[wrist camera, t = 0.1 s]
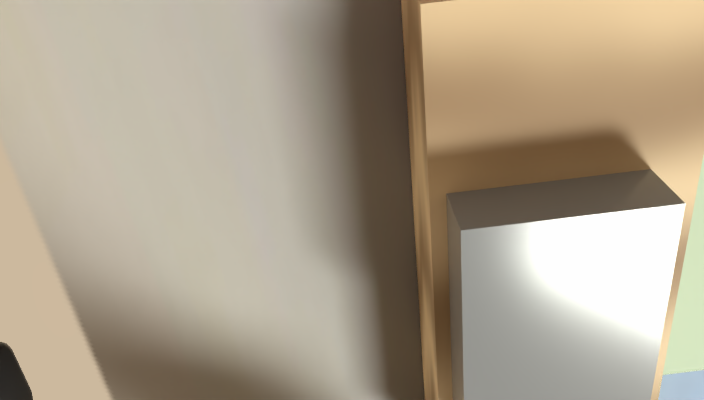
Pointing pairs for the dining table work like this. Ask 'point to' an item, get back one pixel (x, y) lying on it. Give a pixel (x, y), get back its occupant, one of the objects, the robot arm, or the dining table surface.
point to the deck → (544, 117)
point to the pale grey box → (561, 287)
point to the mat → (690, 298)
